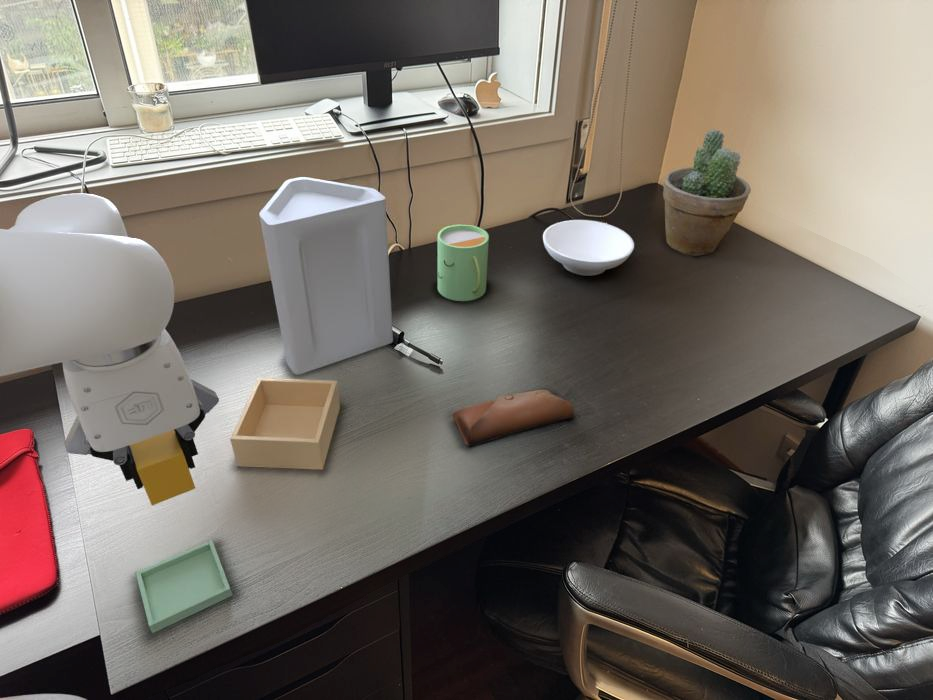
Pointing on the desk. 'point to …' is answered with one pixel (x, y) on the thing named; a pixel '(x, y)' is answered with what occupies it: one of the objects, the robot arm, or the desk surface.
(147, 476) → the mustard box
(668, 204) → the potted plant
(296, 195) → the white triangular prism tub
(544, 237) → the bowl
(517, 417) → the sunglasses case
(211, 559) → the green tray
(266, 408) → the sand bin
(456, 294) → the mug
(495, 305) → the desk surface
